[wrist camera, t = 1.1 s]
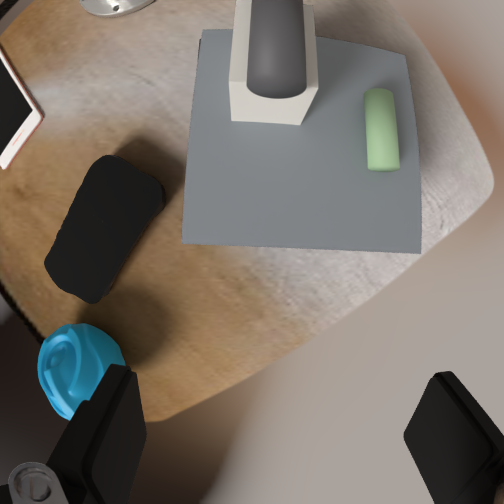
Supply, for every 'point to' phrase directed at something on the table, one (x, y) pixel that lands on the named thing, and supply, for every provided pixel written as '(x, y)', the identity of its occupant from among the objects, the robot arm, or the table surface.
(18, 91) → the cell phone
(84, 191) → the black sponge
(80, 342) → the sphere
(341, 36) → the table surface
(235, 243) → the plate
